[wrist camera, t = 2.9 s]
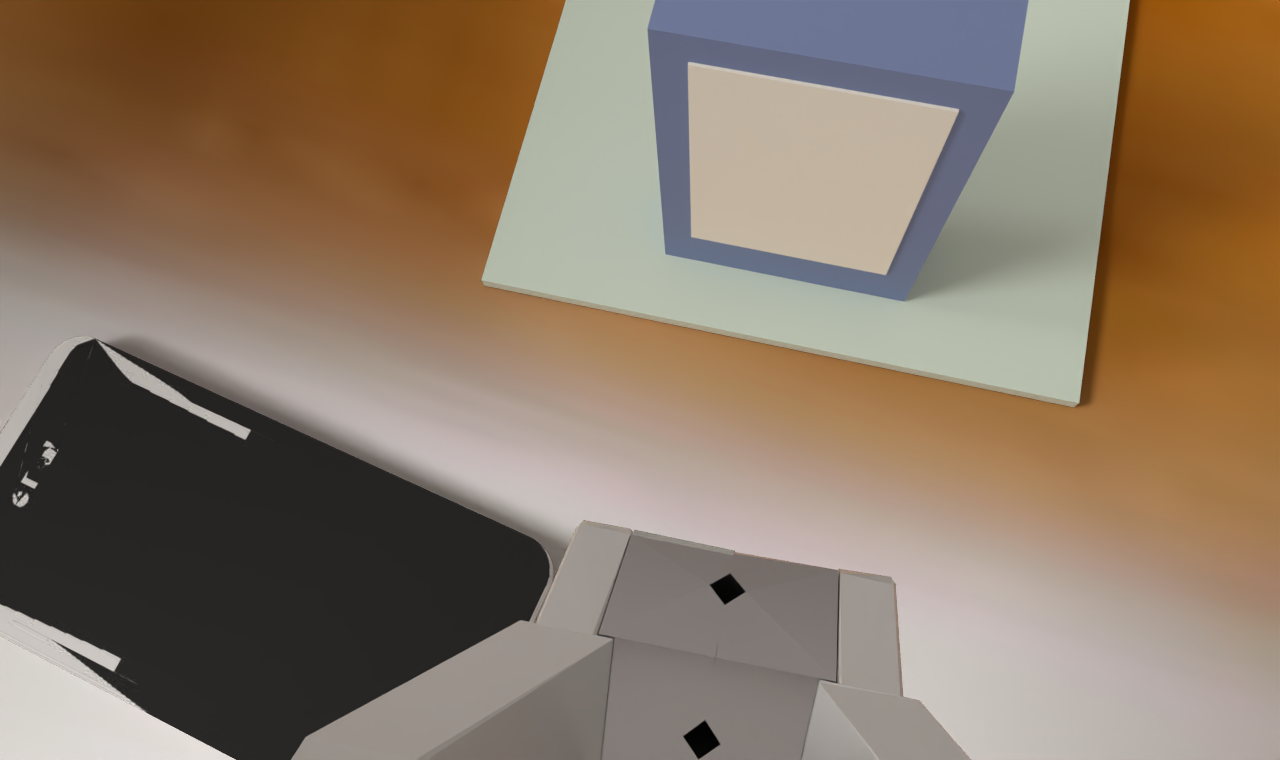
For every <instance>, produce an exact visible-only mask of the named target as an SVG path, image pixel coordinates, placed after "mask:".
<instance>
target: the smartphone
mask: <svg viewBox="0 0 1280 760" xmlns="http://www.w3.org/2000/svg"><path fill="white" fill-rule="evenodd" d="M553 574H554V571H553V564H552V560H551V558H550V556H549V554H548V552H547V551H546V550H545V549H544V548H543V547H542V546H541V545H540V544H539V543H538V542H537V541H536V540H534V539H533V538H531V537H529V536H527V535H524V534H522V533H520V532H518V531H516V530H514V529H511V528H509V527H507V526H505V525H503V524H500V523H498V522H496V521H494V520H492V519H489V518H487V517H485V516H483V515H481V514H478V513H476V512H474V511H472V510H470V509H468V508H465V507H463V506H461V505H459V504H457V503H454V502H452V501H450V500H448V499H446V498H443V497H441V496H439V495H437V494H435V493H432V492H430V491H428V490H426V489H424V488H422V487H419V486H417V485H415V484H413V483H411V482H408V481H406V480H404V479H402V478H400V477H397V476H395V475H393V474H391V473H389V472H386V471H384V470H382V469H380V468H378V467H376V466H373V465H371V464H369V463H367V462H365V461H362V460H360V459H358V458H356V457H354V456H351V455H349V454H347V453H345V452H343V451H340V450H338V449H336V448H334V447H332V446H330V445H327V444H325V443H323V442H321V441H319V440H316V439H314V438H312V437H310V436H308V435H305V434H303V433H301V432H299V431H297V430H294V429H292V428H290V427H288V426H286V425H284V424H281V423H279V422H277V421H275V420H273V419H270V418H268V417H266V416H264V415H262V414H259V413H257V412H255V411H253V410H251V409H249V408H246V407H244V406H242V405H240V404H238V403H235V402H233V401H231V400H229V399H227V398H224V397H222V396H220V395H218V394H216V393H213V392H211V391H209V390H207V389H205V388H203V387H200V386H198V385H196V384H194V383H192V382H189V381H187V380H185V379H183V378H181V377H178V376H176V375H174V374H172V373H170V372H167V371H165V370H163V369H161V368H159V367H157V366H154V365H152V364H150V363H148V362H146V361H143V360H141V359H139V358H137V357H135V356H132V355H130V354H128V353H126V352H124V351H121V350H119V349H117V348H115V347H113V346H111V345H108V344H106V343H104V342H102V341H100V340H97V339H95V338H93V337H88V336H77V337H73V338H70V339H68V340H66V341H64V342H62V343H61V344H59V345H58V346H57V347H56V348H55V349H54V350H53V351H52V352H51V354H50V355H49V357H48V358H47V360H46V361H45V363H44V365H43V366H42V368H41V369H40V371H39V373H38V374H37V376H36V377H35V379H34V380H33V382H32V384H31V385H30V387H29V388H28V390H27V391H26V393H25V395H24V396H23V398H22V399H21V401H20V403H19V404H18V406H17V407H16V409H15V410H14V412H13V414H12V415H11V417H10V418H9V420H8V421H7V423H6V425H5V426H4V428H3V429H2V431H1V432H0V636H1V637H3V638H5V639H7V640H8V641H10V642H12V643H14V644H16V645H18V646H20V647H22V648H24V649H26V650H28V651H29V652H31V653H33V654H35V655H37V656H39V657H41V658H43V659H45V660H47V661H49V662H50V663H52V664H54V665H56V666H58V667H60V668H62V669H64V670H66V671H68V672H70V673H71V674H73V675H75V676H77V677H79V678H81V679H83V680H85V681H87V682H89V683H91V684H93V685H94V686H96V687H98V688H100V689H102V690H104V691H106V692H108V693H110V694H112V695H114V696H115V697H117V698H119V699H121V700H123V701H125V702H127V703H129V704H131V705H133V706H135V707H136V708H138V709H140V710H142V711H144V712H146V713H148V714H150V715H152V716H154V717H156V718H157V719H159V720H161V721H163V722H165V723H167V724H169V725H171V726H173V727H175V728H177V729H179V730H180V731H182V732H184V733H186V734H188V735H190V736H192V737H194V738H196V739H198V740H200V741H201V742H203V743H205V744H207V745H209V746H211V747H213V748H215V749H217V750H219V751H221V752H222V753H224V754H226V755H228V756H230V757H232V758H234V759H236V760H291V759H292V757H293V756H294V754H295V753H296V751H297V750H298V748H299V747H300V745H301V743H302V742H303V740H304V739H305V737H306V736H308V735H310V734H312V733H314V732H316V731H318V730H319V729H321V728H323V727H325V726H327V725H329V724H330V723H332V722H334V721H336V720H338V719H340V718H341V717H343V716H345V715H347V714H349V713H351V712H352V711H354V710H356V709H358V708H360V707H362V706H364V705H365V704H367V703H369V702H371V701H373V700H375V699H376V698H378V697H380V696H382V695H384V694H386V693H387V692H389V691H391V690H393V689H395V688H397V687H398V686H400V685H402V684H404V683H406V682H408V681H410V680H411V679H413V678H415V677H417V676H419V675H421V674H422V673H424V672H426V671H428V670H430V669H432V668H433V667H435V666H437V665H439V664H441V663H443V662H444V661H446V660H448V659H450V658H452V657H454V656H456V655H457V654H459V653H461V652H463V651H465V650H467V649H468V648H470V647H472V646H474V645H476V644H478V643H479V642H481V641H483V640H485V639H487V638H489V637H491V636H492V635H494V634H496V633H498V632H500V631H502V630H503V629H505V628H507V627H509V626H511V625H513V624H514V623H516V622H518V621H520V620H522V621H528V622H533V623H534V622H535V620H536V617H537V615H538V613H539V611H540V609H541V607H542V605H543V602H544V600H545V598H546V596H547V594H548V592H549V589H550V587H551V585H552V581H553Z"/></svg>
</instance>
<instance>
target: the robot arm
mask: <svg viewBox="0 0 1280 760" xmlns="http://www.w3.org/2000/svg"><path fill="white" fill-rule="evenodd" d="M291 760H971V759H970V758H969V757H968V756H967V755H966V753H965V752H964V751H963V750H962V749H961V748H960V746H959V745H958V744H957V743H956V742H955V741H954V740H953V738H952V737H951V736H950V735H949V734H948V733H947V732H946V730H945V729H944V728H943V727H942V726H941V725H940V723H939V722H938V721H937V720H936V719H935V718H934V717H933V715H932V714H931V713H930V712H929V711H928V710H927V709H926V707H925V706H924V705H923V704H922V703H921V702H920V701H919V700H915V699H910V698H906V697H903V687H902V672H901V658H900V643H899V628H898V614H897V599H896V584H895V582H894V581H893V580H892V578H891V577H887V576H881V575H874V574H868V573H861V572H855V571H848V570H842V569H838V570H834V569H828V568H823V567H817V566H811V565H806V564H800V563H794V562H788V561H783V560H777V559H771V558H766V557H760V556H754V555H749V554H743V553H737V552H735V551H733V550H728V549H723V548H719V547H714V546H709V545H704V544H700V543H695V542H690V541H685V540H681V539H676V538H671V537H666V536H661V535H657V534H652V533H647V532H642V531H638V530H634V532H633V531H632V530H631V529H628V528H623V527H617V526H612V525H607V524H601V523H596V522H590V521H585V520H584V521H583V522H581V523H580V524H579V525H578V526H577V527H576V529H575V532H574V534H573V536H572V539H571V541H570V543H569V546H568V548H567V550H566V553H565V555H564V557H563V560H562V562H561V564H560V567H559V569H558V571H557V574H556V576H555V578H554V581H553V583H552V585H551V588H550V590H549V592H548V595H547V597H546V599H545V602H544V604H543V606H542V609H541V611H540V613H539V616H538V618H537V620H536V623H533V622H528V621H522V620H520V621H518V622H516V623H514V624H513V625H511V626H509V627H507V628H505V629H503V630H502V631H500V632H498V633H496V634H494V635H492V636H491V637H489V638H487V639H485V640H483V641H481V642H479V643H478V644H476V645H474V646H472V647H470V648H468V649H467V650H465V651H463V652H461V653H459V654H457V655H456V656H454V657H452V658H450V659H448V660H446V661H444V662H443V663H441V664H439V665H437V666H435V667H433V668H432V669H430V670H428V671H426V672H424V673H422V674H421V675H419V676H417V677H415V678H413V679H411V680H410V681H408V682H406V683H404V684H402V685H400V686H398V687H397V688H395V689H393V690H391V691H389V692H387V693H386V694H384V695H382V696H380V697H378V698H376V699H375V700H373V701H371V702H369V703H367V704H365V705H364V706H362V707H360V708H358V709H356V710H354V711H352V712H351V713H349V714H347V715H345V716H343V717H341V718H340V719H338V720H336V721H334V722H332V723H330V724H329V725H327V726H325V727H323V728H321V729H319V730H318V731H316V732H314V733H312V734H310V735H308V736H306V737H305V739H304V740H303V742H302V743H301V745H300V747H299V748H298V750H297V751H296V753H295V754H294V756H293V757H292V759H291Z"/></svg>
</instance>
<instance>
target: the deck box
mask: <svg viewBox="0 0 1280 760" xmlns="http://www.w3.org/2000/svg"><path fill="white" fill-rule="evenodd" d="M1028 1H1029V0H655V2H654V6H653V10H652V13H651V17H650V21H649V24H648V28H647V31H648V44H649V56H650V69H651V81H652V94H653V106H654V118H655V131H656V143H657V156H658V168H659V181H660V193H661V206H662V218H663V231H664V243H665V254H667V255H672V256H677V257H682V258H687V259H692V260H697V261H702V262H707V263H712V264H717V265H722V266H727V267H732V268H737V269H742V270H747V271H752V272H757V273H762V274H767V275H772V276H777V277H783V278H788V279H793V280H798V281H803V282H808V283H813V284H818V285H823V286H828V287H833V288H838V289H843V290H848V291H853V292H858V293H863V294H868V295H873V296H878V297H883V298H888V299H893V300H899V301H905V299H906V297H907V295H908V293H909V291H910V289H911V288H912V286H913V284H914V282H915V280H916V278H917V276H918V274H919V272H920V270H921V268H922V267H923V265H924V263H925V261H926V259H927V257H928V255H929V253H930V251H931V249H932V248H933V246H934V244H935V242H936V240H937V238H938V236H939V234H940V232H941V230H942V228H943V227H944V225H945V223H946V221H947V219H948V217H949V215H950V213H951V211H952V209H953V207H954V206H955V204H956V202H957V200H958V198H959V196H960V194H961V192H962V190H963V188H964V187H965V185H966V183H967V181H968V179H969V177H970V175H971V173H972V171H973V169H974V167H975V166H976V164H977V162H978V160H979V158H980V156H981V154H982V152H983V150H984V148H985V146H986V145H987V143H988V141H989V139H990V137H991V135H992V133H993V131H994V129H995V127H996V125H997V124H998V122H999V120H1000V118H1001V116H1002V114H1003V112H1004V110H1005V108H1006V106H1007V105H1008V103H1009V101H1010V99H1011V97H1012V95H1013V93H1014V90H1015V84H1016V77H1017V71H1018V65H1019V58H1020V52H1021V46H1022V39H1023V33H1024V27H1025V20H1026V14H1027V8H1028Z"/></svg>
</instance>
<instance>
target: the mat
mask: <svg viewBox="0 0 1280 760" xmlns="http://www.w3.org/2000/svg"><path fill="white" fill-rule="evenodd" d="M654 2H655V0H566V2H565V5H564V8H563V12H562V15H561V18H560V22H559V25H558V28H557V32H556V35H555V38H554V42H553V45H552V48H551V51H550V55H549V58H548V61H547V65H546V68H545V71H544V75H543V78H542V81H541V85H540V88H539V91H538V94H537V98H536V101H535V104H534V108H533V111H532V114H531V118H530V121H529V124H528V128H527V131H526V134H525V137H524V141H523V144H522V147H521V151H520V154H519V157H518V161H517V164H516V167H515V171H514V174H513V177H512V180H511V184H510V187H509V190H508V194H507V197H506V200H505V204H504V207H503V210H502V214H501V217H500V220H499V224H498V227H497V230H496V233H495V237H494V240H493V243H492V247H491V250H490V253H489V257H488V260H487V263H486V267H485V270H484V273H483V276H482V282H483V284H484V286H489V287H494V288H498V289H503V290H508V291H513V292H518V293H523V294H528V295H532V296H537V297H542V298H547V299H552V300H557V301H561V302H566V303H571V304H576V305H581V306H586V307H590V308H595V309H600V310H605V311H610V312H615V313H620V314H624V315H629V316H634V317H639V318H644V319H649V320H653V321H658V322H663V323H668V324H673V325H678V326H682V327H687V328H692V329H697V330H702V331H707V332H712V333H716V334H721V335H726V336H731V337H736V338H741V339H745V340H750V341H755V342H760V343H765V344H770V345H774V346H779V347H784V348H789V349H794V350H799V351H804V352H808V353H813V354H818V355H823V356H828V357H833V358H837V359H842V360H847V361H852V362H857V363H862V364H866V365H871V366H876V367H881V368H886V369H891V370H896V371H900V372H905V373H910V374H915V375H920V376H925V377H929V378H934V379H939V380H944V381H949V382H954V383H958V384H963V385H968V386H973V387H978V388H983V389H987V390H992V391H997V392H1002V393H1007V394H1012V395H1017V396H1021V397H1026V398H1031V399H1036V400H1041V401H1046V402H1050V403H1055V404H1060V405H1065V406H1070V407H1075V406H1076V405H1077V404H1079V401H1080V393H1081V385H1082V377H1083V369H1084V361H1085V353H1086V345H1087V337H1088V329H1089V321H1090V313H1091V305H1092V297H1093V289H1094V281H1095V274H1096V266H1097V258H1098V250H1099V242H1100V234H1101V226H1102V218H1103V210H1104V202H1105V194H1106V186H1107V178H1108V170H1109V162H1110V154H1111V146H1112V138H1113V131H1114V123H1115V115H1116V107H1117V99H1118V91H1119V83H1120V75H1121V67H1122V59H1123V51H1124V43H1125V35H1126V27H1127V19H1128V11H1129V3H1130V0H1029V1H1028V8H1027V14H1026V20H1025V27H1024V33H1023V39H1022V46H1021V52H1020V58H1019V65H1018V71H1017V77H1016V84H1015V90H1014V93H1013V95H1012V97H1011V99H1010V101H1009V103H1008V105H1007V106H1006V108H1005V110H1004V112H1003V114H1002V116H1001V118H1000V120H999V122H998V124H997V125H996V127H995V129H994V131H993V133H992V135H991V137H990V139H989V141H988V143H987V145H986V146H985V148H984V150H983V152H982V154H981V156H980V158H979V160H978V162H977V164H976V166H975V167H974V169H973V171H972V173H971V175H970V177H969V179H968V181H967V183H966V185H965V187H964V188H963V190H962V192H961V194H960V196H959V198H958V200H957V202H956V204H955V206H954V207H953V209H952V211H951V213H950V215H949V217H948V219H947V221H946V223H945V225H944V227H943V228H942V230H941V232H940V234H939V236H938V238H937V240H936V242H935V244H934V246H933V248H932V249H931V251H930V253H929V255H928V257H927V259H926V261H925V263H924V265H923V267H922V268H921V270H920V272H919V274H918V276H917V278H916V280H915V282H914V284H913V286H912V288H911V289H910V291H909V293H908V295H907V297H906V299H905V301H899V300H893V299H888V298H883V297H878V296H873V295H868V294H863V293H858V292H853V291H848V290H843V289H838V288H833V287H828V286H823V285H818V284H813V283H808V282H803V281H798V280H793V279H788V278H783V277H777V276H772V275H767V274H762V273H757V272H752V271H747V270H742V269H737V268H732V267H727V266H722V265H717V264H712V263H707V262H702V261H697V260H692V259H687V258H682V257H677V256H672V255H667V254H665V243H664V231H663V218H662V206H661V193H660V181H659V168H658V156H657V143H656V131H655V118H654V106H653V94H652V81H651V69H650V56H649V44H648V31H647V28H648V24H649V21H650V17H651V13H652V10H653V6H654Z"/></svg>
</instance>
